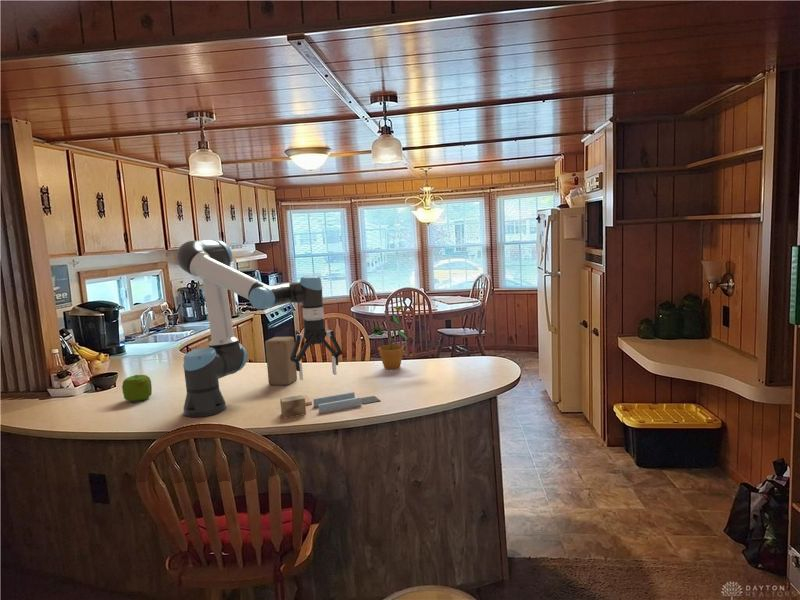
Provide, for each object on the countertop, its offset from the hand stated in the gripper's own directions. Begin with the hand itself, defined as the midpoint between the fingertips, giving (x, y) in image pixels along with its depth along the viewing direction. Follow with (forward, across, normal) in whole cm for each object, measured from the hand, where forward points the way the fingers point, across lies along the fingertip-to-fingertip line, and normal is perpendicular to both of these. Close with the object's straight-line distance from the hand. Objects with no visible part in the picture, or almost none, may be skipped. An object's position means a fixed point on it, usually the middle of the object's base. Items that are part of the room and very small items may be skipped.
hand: (318, 376), depth 195 cm
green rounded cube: (+13, -64, +54) cm, 85 cm away
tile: (+12, -6, +12) cm, 19 cm away
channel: (+12, +6, 0) cm, 14 cm away
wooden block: (+13, -6, +46) cm, 48 cm away
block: (+12, -10, 0) cm, 16 cm away
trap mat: (+12, +19, 0) cm, 23 cm away
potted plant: (+13, +46, +42) cm, 63 cm away
